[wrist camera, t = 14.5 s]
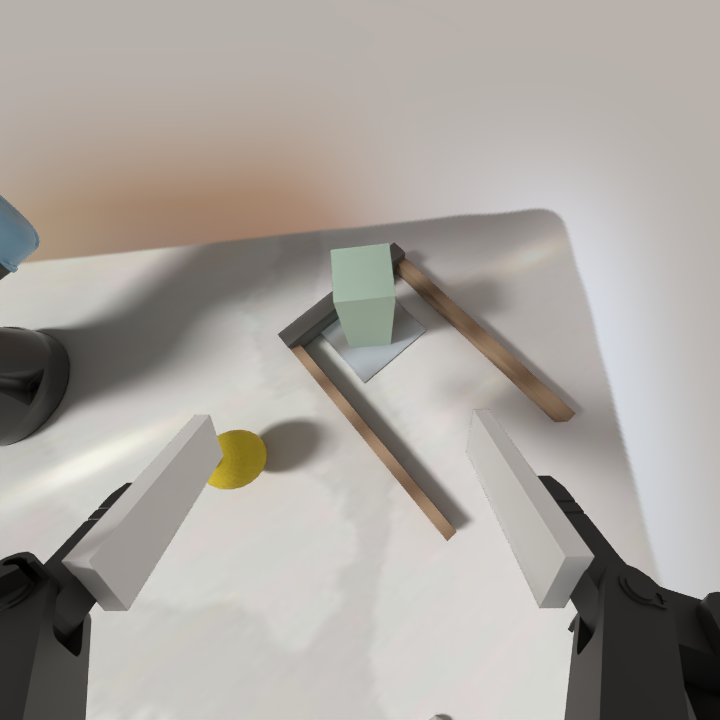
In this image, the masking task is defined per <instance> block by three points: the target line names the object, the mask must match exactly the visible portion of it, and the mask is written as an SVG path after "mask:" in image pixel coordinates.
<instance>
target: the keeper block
mask: <svg viewBox="0 0 720 720" xmlns="http://www.w3.org/2000/svg"><path fill="white" fill-rule="evenodd" d="M331 268H332V286H333V303H334V306H335V308H336V311H337V314H338V317H339V319H340V322H341V325H342V328H343V330H344V333H345V336H346V339H347V341H348V344H349V347H350V348H359V347H369V346H380V345H390V344H391V336H392V327H393V317H394V308H395V298H396V294H395V286H394V278H393V270H392V262H391V254H390V246H389V243H385V244H376V245H368V246H359V247H351V248H342V249H333V250H331Z"/></svg>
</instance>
